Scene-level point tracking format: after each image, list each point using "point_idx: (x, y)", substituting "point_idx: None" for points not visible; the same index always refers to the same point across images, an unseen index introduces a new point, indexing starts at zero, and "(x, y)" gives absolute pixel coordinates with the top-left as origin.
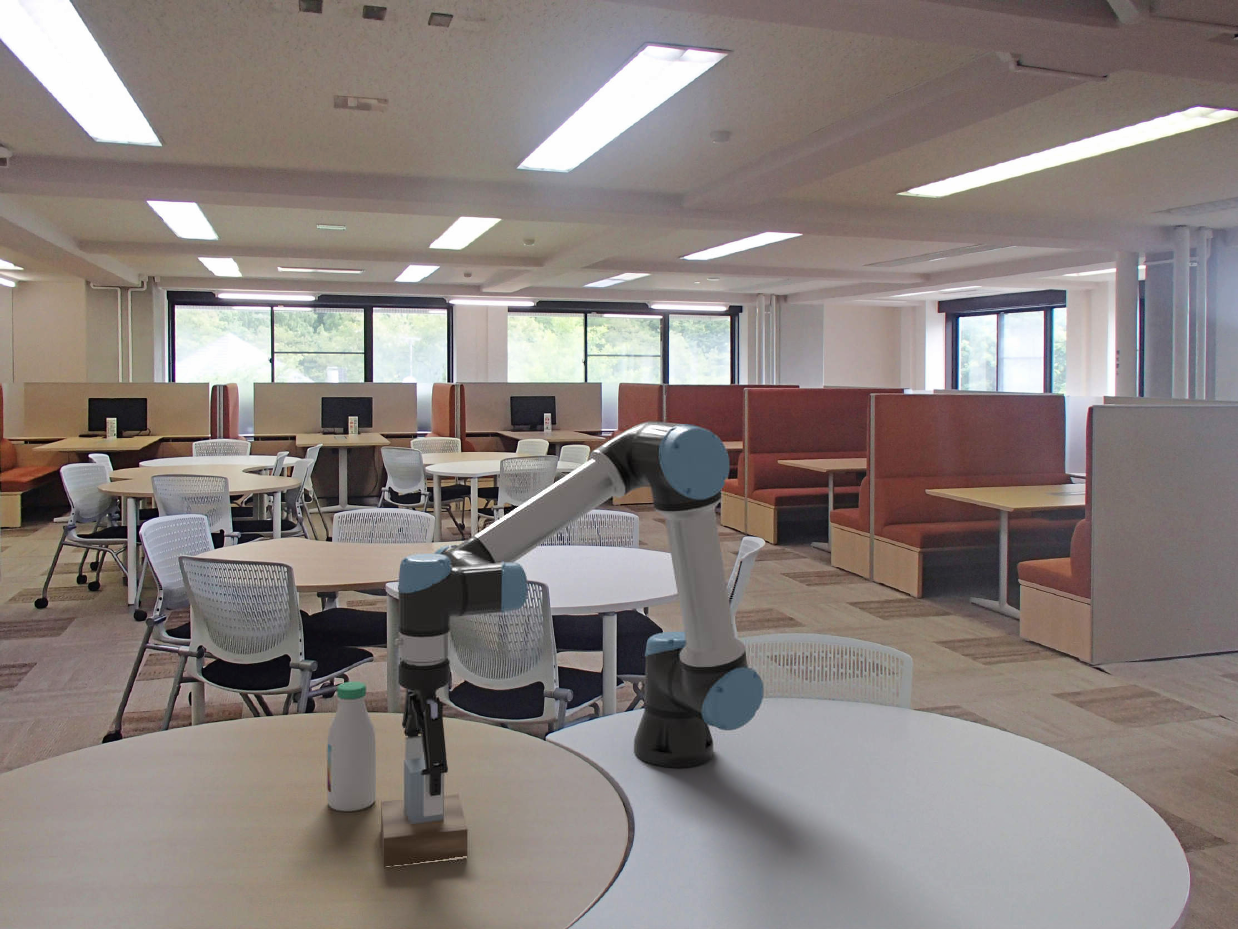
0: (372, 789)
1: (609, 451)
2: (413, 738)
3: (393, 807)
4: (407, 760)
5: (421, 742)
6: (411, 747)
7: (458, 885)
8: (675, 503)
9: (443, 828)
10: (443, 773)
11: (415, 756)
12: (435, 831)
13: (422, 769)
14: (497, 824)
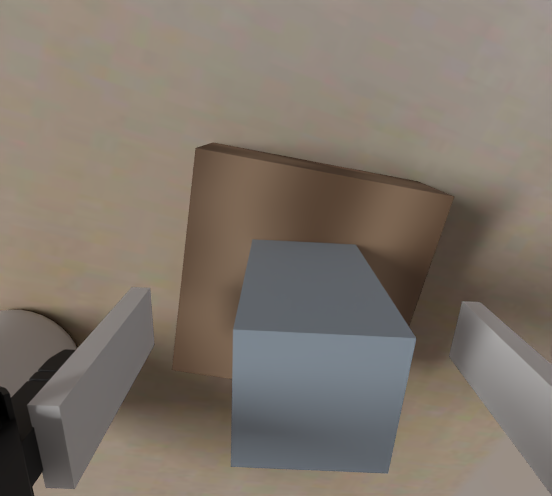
0: (30, 342)
1: None
2: (67, 455)
3: (219, 349)
4: (241, 457)
5: (77, 391)
6: (96, 421)
7: (517, 235)
8: None
9: (410, 260)
10: (404, 324)
11: (117, 369)
12: (416, 285)
13: (379, 427)
14: (266, 30)
